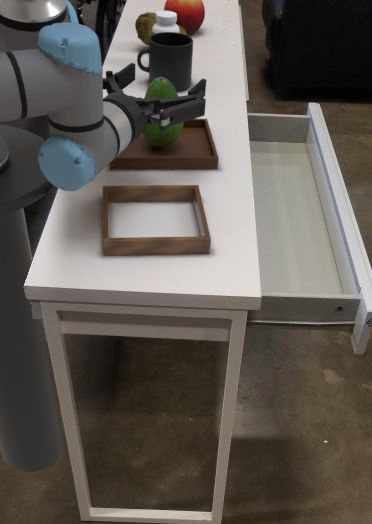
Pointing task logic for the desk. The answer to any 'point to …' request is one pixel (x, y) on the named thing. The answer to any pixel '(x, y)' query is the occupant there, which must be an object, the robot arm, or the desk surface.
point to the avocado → (151, 132)
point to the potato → (148, 26)
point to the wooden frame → (155, 243)
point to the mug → (169, 58)
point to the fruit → (187, 13)
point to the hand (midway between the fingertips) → (168, 79)
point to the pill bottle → (165, 22)
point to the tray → (172, 151)
